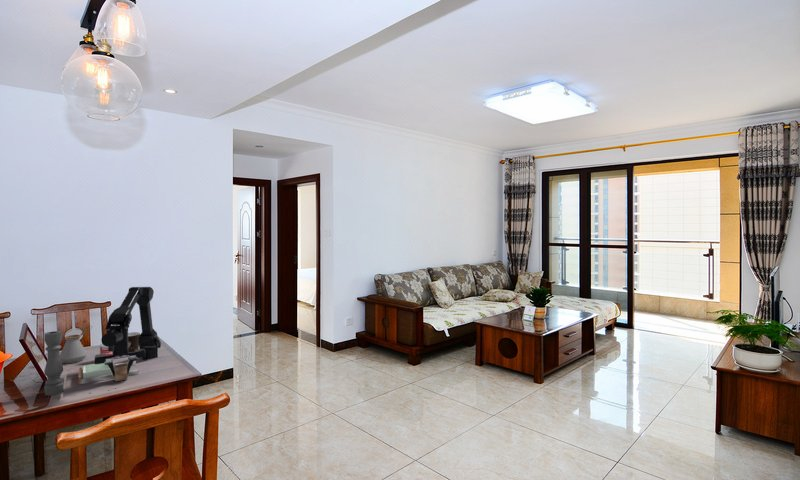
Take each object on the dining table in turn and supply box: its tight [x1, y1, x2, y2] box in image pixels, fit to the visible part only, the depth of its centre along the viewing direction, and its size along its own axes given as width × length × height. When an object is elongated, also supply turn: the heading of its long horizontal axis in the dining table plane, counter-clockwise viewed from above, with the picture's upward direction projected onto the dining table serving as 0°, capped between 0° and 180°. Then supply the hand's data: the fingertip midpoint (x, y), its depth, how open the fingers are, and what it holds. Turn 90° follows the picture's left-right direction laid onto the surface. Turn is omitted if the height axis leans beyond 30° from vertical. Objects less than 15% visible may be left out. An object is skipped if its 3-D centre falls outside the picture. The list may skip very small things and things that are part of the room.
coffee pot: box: [59, 325, 93, 364], centre depth 220 cm, size 21×12×15 cm, turn 8°
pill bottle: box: [99, 343, 115, 361], centre depth 217 cm, size 6×6×11 cm
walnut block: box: [113, 362, 128, 382], centre depth 186 cm, size 4×4×6 cm
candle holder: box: [43, 330, 65, 397], centre depth 174 cm, size 6×6×25 cm
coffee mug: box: [128, 331, 141, 353], centre depth 231 cm, size 12×9×10 cm
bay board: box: [78, 360, 140, 385], centre depth 194 cm, size 22×16×4 cm
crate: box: [82, 363, 112, 379], centre depth 191 cm, size 11×12×4 cm
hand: (120, 375), depth 186 cm, fingers closed on walnut block, 4 cm apart
